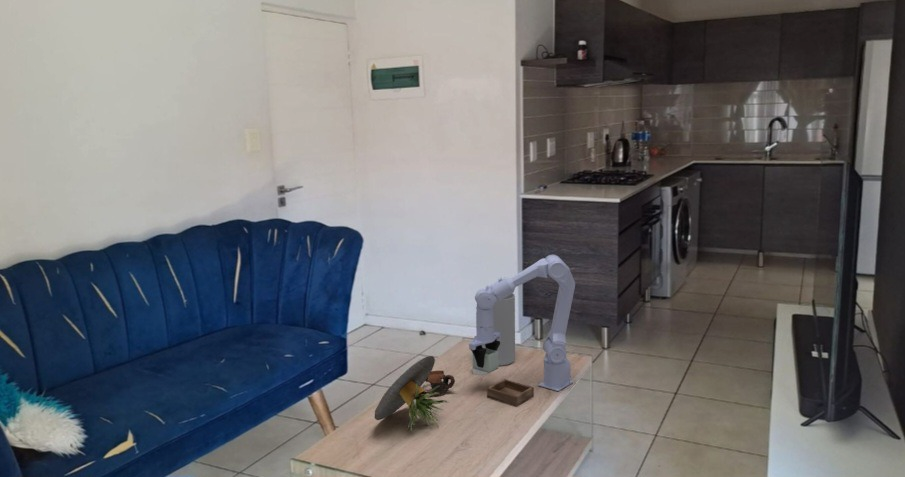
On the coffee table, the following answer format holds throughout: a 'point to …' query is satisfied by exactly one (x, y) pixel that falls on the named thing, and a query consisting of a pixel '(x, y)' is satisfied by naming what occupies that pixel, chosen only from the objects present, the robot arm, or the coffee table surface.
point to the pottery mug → (439, 382)
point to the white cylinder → (477, 370)
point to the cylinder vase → (505, 329)
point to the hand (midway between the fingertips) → (485, 364)
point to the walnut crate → (510, 392)
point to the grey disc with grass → (410, 393)
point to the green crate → (488, 361)
